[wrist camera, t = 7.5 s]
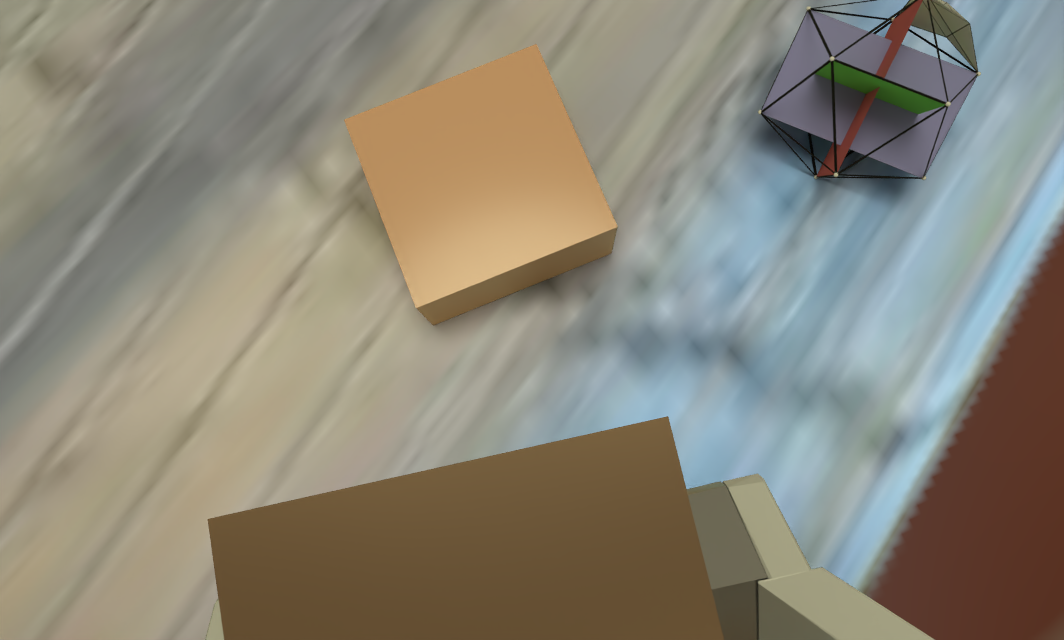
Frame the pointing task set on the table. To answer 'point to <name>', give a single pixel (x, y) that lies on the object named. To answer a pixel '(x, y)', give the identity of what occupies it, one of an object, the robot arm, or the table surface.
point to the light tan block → (482, 185)
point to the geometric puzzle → (874, 87)
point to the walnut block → (480, 551)
